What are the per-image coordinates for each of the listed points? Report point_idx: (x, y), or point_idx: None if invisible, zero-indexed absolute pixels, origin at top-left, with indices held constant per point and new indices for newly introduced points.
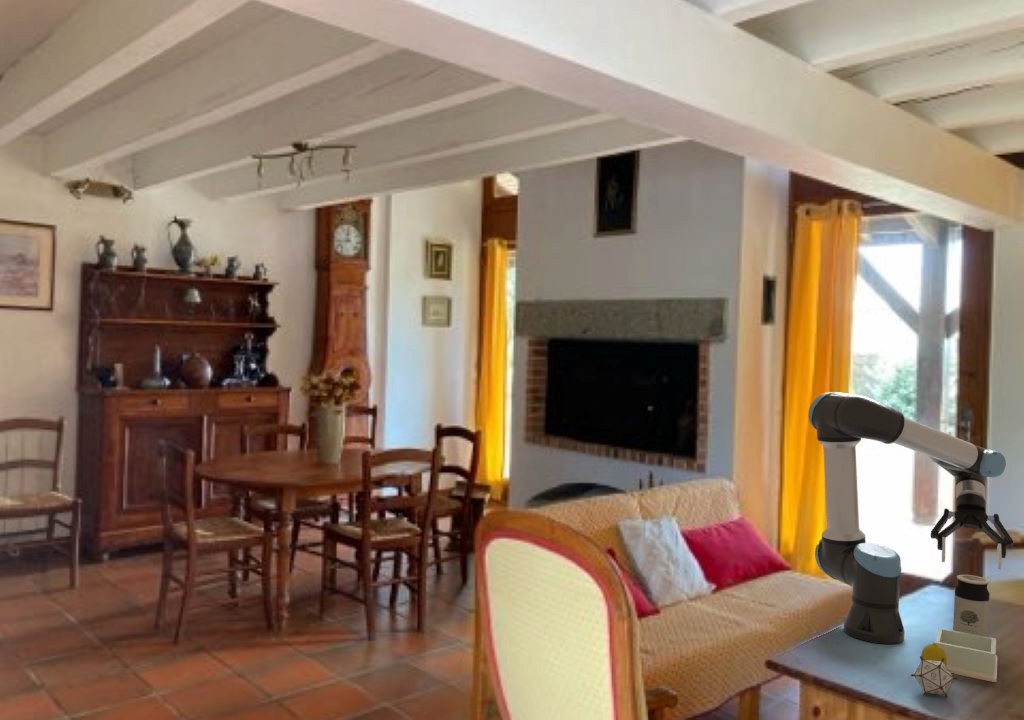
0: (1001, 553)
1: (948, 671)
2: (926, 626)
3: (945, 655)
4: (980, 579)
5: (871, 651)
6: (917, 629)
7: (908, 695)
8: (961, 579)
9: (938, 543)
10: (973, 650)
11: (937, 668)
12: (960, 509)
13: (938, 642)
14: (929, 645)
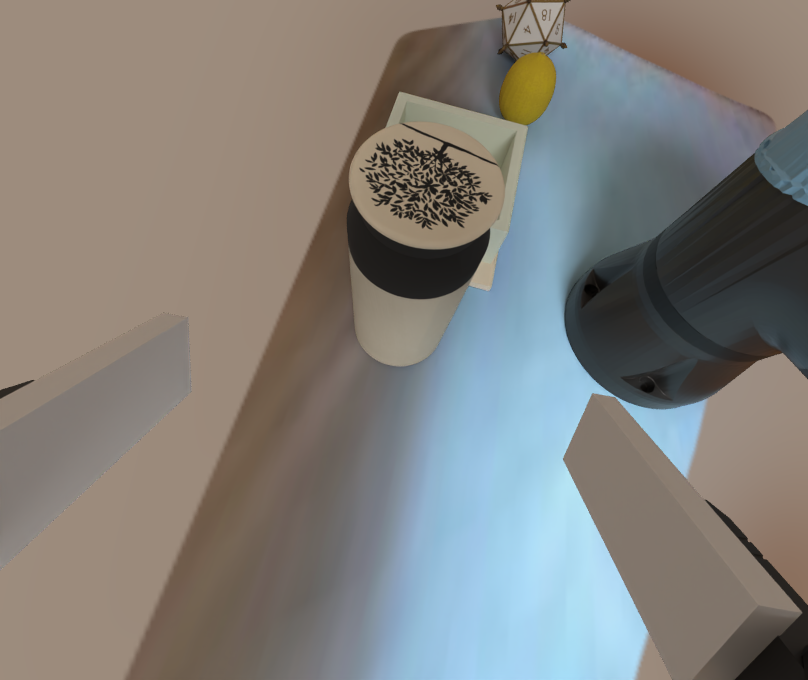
0: (70, 362)
1: (515, 1)
2: (495, 477)
3: (511, 67)
4: (392, 170)
5: (630, 214)
6: (525, 429)
7: (557, 50)
8: (489, 152)
9: (744, 540)
10: (444, 104)
11: None
12: None
13: (519, 128)
14: (549, 59)
